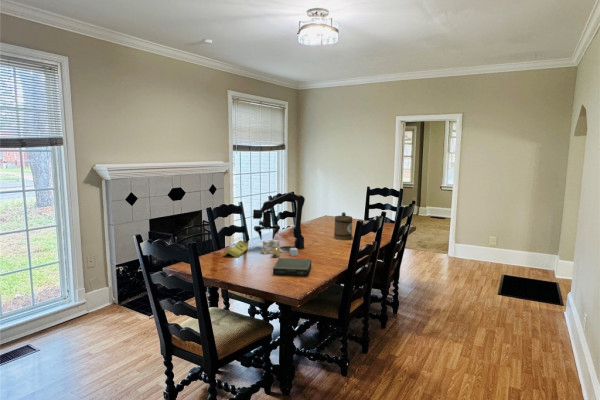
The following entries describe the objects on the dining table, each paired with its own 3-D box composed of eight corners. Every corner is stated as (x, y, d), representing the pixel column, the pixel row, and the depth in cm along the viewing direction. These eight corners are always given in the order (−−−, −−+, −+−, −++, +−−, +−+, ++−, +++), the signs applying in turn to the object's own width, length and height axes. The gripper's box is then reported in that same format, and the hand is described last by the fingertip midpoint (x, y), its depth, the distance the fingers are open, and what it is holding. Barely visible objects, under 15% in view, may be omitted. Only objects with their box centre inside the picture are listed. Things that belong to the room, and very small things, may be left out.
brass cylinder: (278, 255, 260) (278, 247, 259) (280, 257, 256) (280, 248, 255) (271, 256, 258) (271, 247, 258) (273, 257, 254) (273, 249, 253)
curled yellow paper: (238, 254, 253) (226, 247, 254) (234, 263, 255) (222, 256, 256) (250, 245, 271) (238, 239, 273) (246, 254, 273) (235, 247, 275)
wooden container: (352, 240, 307) (353, 214, 305) (334, 240, 308) (335, 213, 305) (350, 236, 322) (351, 211, 319) (333, 236, 322) (334, 210, 320)
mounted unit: (291, 248, 278) (291, 238, 277) (295, 251, 270) (295, 240, 269) (261, 251, 270) (261, 240, 269) (264, 254, 262) (264, 242, 261)
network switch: (311, 265, 240) (311, 257, 239) (313, 277, 216) (313, 269, 216) (274, 265, 239) (274, 257, 238) (272, 277, 216) (272, 268, 215)
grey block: (295, 254, 264) (295, 247, 264) (297, 255, 260) (297, 249, 260) (289, 254, 263) (289, 248, 262) (291, 256, 259) (291, 249, 258)
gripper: (275, 216, 286) (275, 236, 288) (252, 217, 280) (252, 237, 282) (280, 218, 276) (280, 239, 278) (255, 220, 269) (255, 241, 271)
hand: (267, 239), depth 277 cm, fingers open, 9 cm apart
